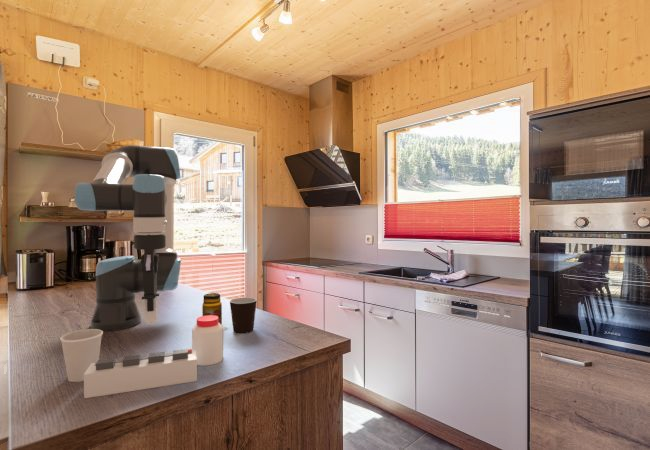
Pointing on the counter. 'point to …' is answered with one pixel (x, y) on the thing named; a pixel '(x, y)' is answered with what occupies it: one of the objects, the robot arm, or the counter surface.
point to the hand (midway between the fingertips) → (151, 322)
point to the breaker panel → (140, 372)
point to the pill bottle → (208, 340)
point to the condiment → (212, 306)
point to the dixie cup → (80, 351)
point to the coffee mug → (243, 314)
